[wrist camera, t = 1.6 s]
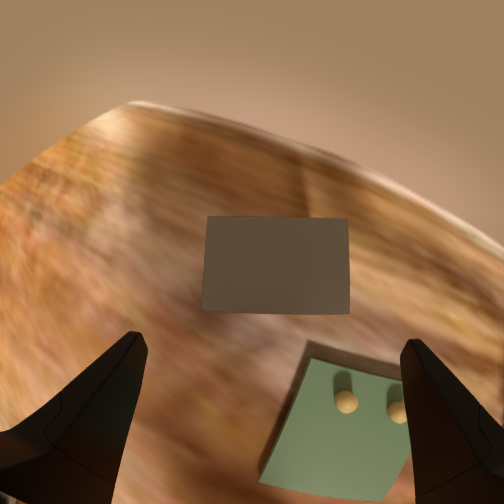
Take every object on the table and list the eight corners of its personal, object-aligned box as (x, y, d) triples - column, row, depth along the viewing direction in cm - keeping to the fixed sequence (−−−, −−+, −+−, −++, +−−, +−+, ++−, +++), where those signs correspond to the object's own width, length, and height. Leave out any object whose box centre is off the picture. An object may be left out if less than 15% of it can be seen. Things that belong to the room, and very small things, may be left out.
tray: (377, 495, 17) (386, 510, 14) (259, 475, 19) (257, 491, 16) (430, 386, 19) (446, 392, 16) (309, 356, 20) (314, 361, 18)
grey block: (316, 314, 21) (349, 314, 11) (234, 312, 22) (201, 310, 12) (317, 260, 22) (347, 217, 12) (237, 258, 22) (207, 214, 13)
